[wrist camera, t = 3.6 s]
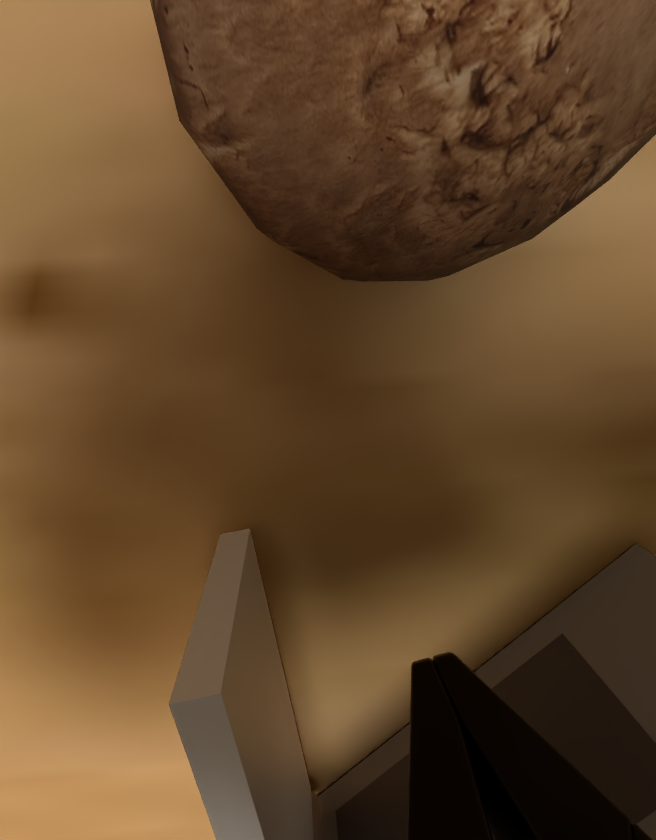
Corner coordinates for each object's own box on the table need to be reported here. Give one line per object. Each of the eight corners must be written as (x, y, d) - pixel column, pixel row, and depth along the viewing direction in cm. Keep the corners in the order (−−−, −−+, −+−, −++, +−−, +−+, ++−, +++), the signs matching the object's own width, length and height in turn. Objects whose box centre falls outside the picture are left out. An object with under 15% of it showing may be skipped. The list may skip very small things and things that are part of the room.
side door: (321, 809, 12) (337, 1056, 8) (282, 818, 12) (279, 1072, 8) (256, 527, 9) (232, 691, 5) (205, 536, 9) (143, 708, 5)
